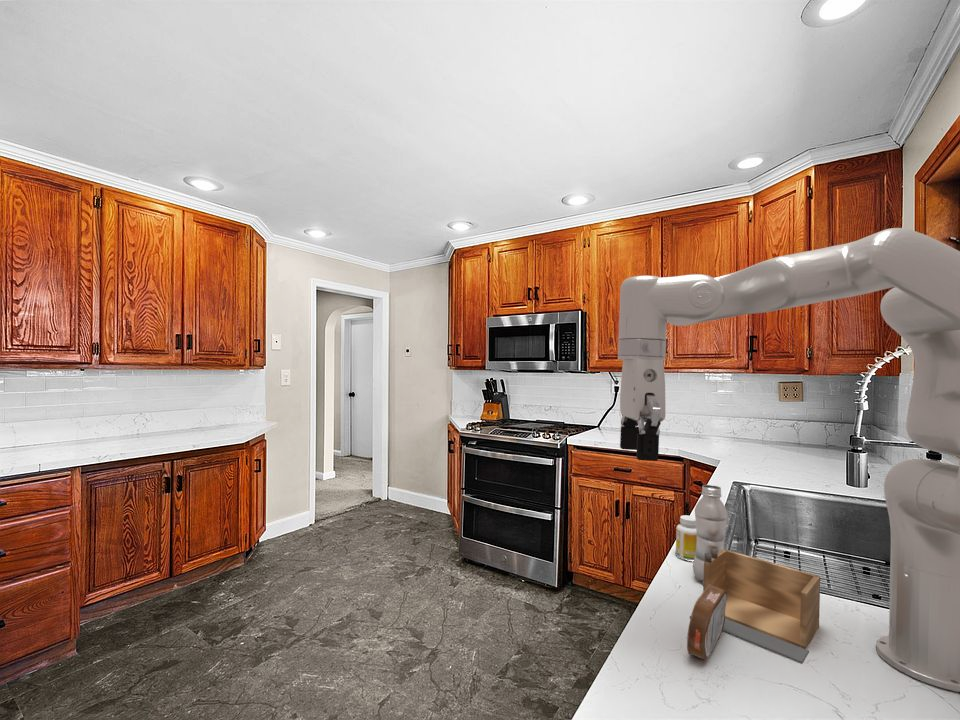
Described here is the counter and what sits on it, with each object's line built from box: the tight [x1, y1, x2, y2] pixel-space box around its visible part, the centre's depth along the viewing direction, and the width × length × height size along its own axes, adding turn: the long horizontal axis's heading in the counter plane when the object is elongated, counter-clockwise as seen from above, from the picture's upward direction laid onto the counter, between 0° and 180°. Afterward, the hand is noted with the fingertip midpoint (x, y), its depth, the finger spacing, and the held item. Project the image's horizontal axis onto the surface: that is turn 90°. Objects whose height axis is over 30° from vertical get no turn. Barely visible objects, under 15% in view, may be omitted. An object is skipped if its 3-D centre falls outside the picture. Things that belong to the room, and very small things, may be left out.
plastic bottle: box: [692, 484, 729, 583], centre depth 99 cm, size 6×7×20 cm
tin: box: [686, 584, 727, 661], centre depth 76 cm, size 15×3×8 cm, turn 141°
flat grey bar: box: [689, 615, 810, 664], centre depth 79 cm, size 17×4×1 cm, turn 44°
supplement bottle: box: [675, 514, 697, 560], centre depth 112 cm, size 5×5×10 cm
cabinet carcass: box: [702, 548, 821, 650], centre depth 85 cm, size 16×10×10 cm, turn 44°
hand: (637, 454), depth 77 cm, fingers open, 9 cm apart
